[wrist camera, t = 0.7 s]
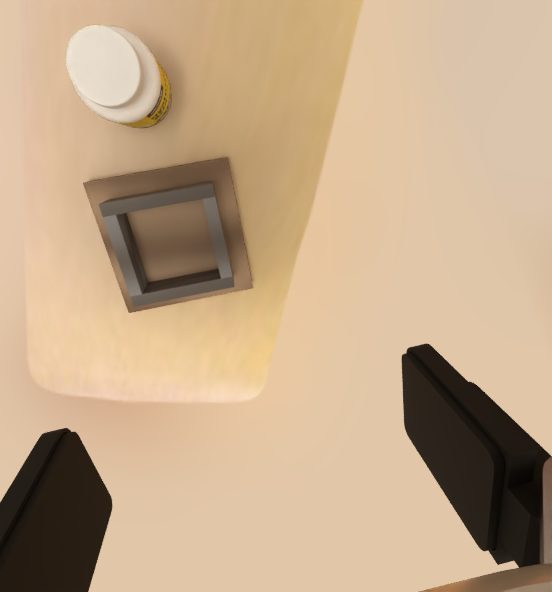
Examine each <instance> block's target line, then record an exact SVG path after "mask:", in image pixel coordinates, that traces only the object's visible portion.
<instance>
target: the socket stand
mask: <svg viewBox="0 0 552 592" xmlns="http://www.w3.org/2000/svg"><path fill="white" fill-rule="evenodd" d="M83 184H84V187H85V190H86V193H87V196H88V199H89V201H90V204H91V207H92V210H93V213H94V216H95V218H96V221H97V224H98V227H99V230H100V233H101V235H102V238H103V241H104V244H105V247H106V250H107V252H108V255H109V258H110V261H111V264H112V267H113V269H114V272H115V275H116V278H117V281H118V284H119V286H120V289H121V292H122V295H123V298H124V300H125V303H126V306H127V309H128V312H129V313H131V312H136V311H141V310H146V309H151V308H156V307H161V306H166V305H171V304H176V303H181V302H186V301H191V300H196V299H201V298H206V297H211V296H216V295H221V294H226V293H231V292H236V291H241V290H246V289H251V288H253V285H252V280H251V275H250V270H249V265H248V260H247V255H246V249H245V244H244V239H243V234H242V229H241V224H240V219H239V214H238V209H237V204H236V199H235V194H234V189H233V184H232V179H231V174H230V169H229V163H228V158H227V157H226V158H220V159H215V160H209V161H203V162H197V163H192V164H186V165H180V166H175V167H169V168H163V169H157V170H152V171H146V172H140V173H134V174H129V175H123V176H117V177H112V178H106V179H100V180H94V181H89V182H85V183H83Z"/></svg>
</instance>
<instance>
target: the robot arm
mask: <svg viewBox="0 0 552 592" xmlns="http://www.w3.org/2000/svg"><path fill="white" fill-rule="evenodd" d="M402 378H403V404H404V425H405V429H406V432H407V435H408V436H409V438H410V440H411V441H412V443H413V445H414V446H415V448H416V449H417V451H418V452H419V454H420V455H421V457H422V459H423V460H424V462H425V463H426V465H427V467H428V468H429V470H430V471H431V473H432V474H433V476H434V478H435V479H436V481H437V482H438V484H439V485H440V487H441V489H442V490H443V492H444V493H445V495H446V496H447V498H448V500H449V501H450V503H451V504H452V506H453V507H454V509H455V510H456V512H457V514H458V515H459V517H460V518H461V520H462V522H463V523H464V525H465V526H466V528H467V529H468V531H469V532H470V534H471V536H472V537H473V539H474V540H475V542H476V543H477V545H478V546H479V548H480V549H481V550H483V551H487V550H488V551H489V552H490V554H491V555H492V556H493V558H494V560H495V561H496V563H497V564H498V565H499V564H502V563H506V562H510V561H515V562H516V564H517V565H518V567H519V568H516V569H510V570H505V571H500V572H496V573H492V574H488V575H484V576H480V577H476V578H471V579H468V580H463V581H459V582H456V583H451V584H447V585H444V586H439V587H435V588H431V589H427V590H424V591H420V592H552V456H551V455H549V453H547V452H546V451H545V450H544V449H543V448H542V447H541V446H540V445H539V444H538V443H537V442H536V441H535V440H534V439H533V438H532V437H530V435H529V434H528V433H526V432H525V431H524V430H523V429H522V428H521V427H520V426H519V425H518V424H517V423H516V422H515V421H514V420H513V419H512V418H511V417H510V416H509V415H508V414H507V413H506V412H504V411H503V410H502V409H501V408H500V407H499V406H498V405H497V404H496V403H495V402H494V401H493V400H492V399H491V398H490V397H489V396H488V395H487V394H485V392H483V391H482V390H481V389H480V388H479V387H478V386H477V385H476V384H474V383H472V382H468V381H467V380H466V379H465V378H464V377H463V376H461V375H460V374H459V372H457V371H456V370H455V369H454V368H453V367H452V366H451V365H450V364H449V363H448V362H447V361H446V360H445V359H444V358H443V357H442V356H441V355H440V354H439V353H438V352H437V351H436V350H435V349H434V348H433V347H432V346H431V345H429V344H423V345H419V346H414V347H410V348H408V349H407V354H403V355H402ZM111 511H112V499H111V496H110V494H109V492H108V490H107V488H106V486H105V484H104V483H103V481H102V479H101V477H100V475H99V473H98V471H97V470H96V468H95V466H94V464H93V462H92V460H91V458H90V456H89V454H88V453H87V451H86V449H85V447H84V445H83V443H82V441H81V439H80V437H79V435H78V434H77V433H76V432H71V431H70V430H69V429H68V428H64V429H59V430H55V431H51V432H47V433H44V434H42V435H41V437H40V438H39V440H38V441H37V443H36V444H35V446H34V448H33V449H32V451H31V453H30V454H29V456H28V458H27V459H26V461H25V463H24V464H23V466H22V468H21V469H20V471H19V473H18V474H17V476H16V478H15V479H14V481H13V483H12V484H11V486H10V487H9V489H8V491H7V493H6V494H5V496H4V497H3V499H2V501H1V502H0V592H88V591H89V587H90V584H91V580H92V577H93V573H94V570H95V566H96V563H97V560H98V556H99V553H100V549H101V546H102V542H103V539H104V535H105V532H106V529H107V525H108V521H109V518H110V515H111Z"/></svg>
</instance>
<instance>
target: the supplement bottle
mask: <svg viewBox="0 0 552 592" xmlns="http://www.w3.org/2000/svg"><path fill="white" fill-rule="evenodd" d="M66 66H67V70H68V73H69V76H70V78H71V80H72V82H73V84H74V87H75V89H76V91H77V93H78V95H79V96H80V98H81V99H82V101H83V102H84V103H85V104H86V105H87V106H88V107H89V108H90V109H91V110H92V111H93V112H95V113H96V114H98V115H99V116H101V117H103V118H105V119H107V120H110V121H113V122H116V123H120V124H123V125H127V126H131V127H135V128H146V127H151V126H153V125H155V124H157V123H159V122H160V121H161V120H162V119H163V118H164V117H165V115H166V114H167V112H168V109H169V107H170V102H171V89H170V84H169V81H168V78H167V76H166V74H165V72H164V71H163V69H162V67H161V66H160V64H159V63H158V61H157V60H156V58H155V57H154V55H153V54H152V52H151V51H150V50H149V48H148V47H147V46H146V45H145V44H144V43H143V41H141V40H140V39H139V38H138V37H137V36H136V35H134V34H133V33H131V32H129V31H127V30H125V29H123V28H120V27H116V26H102V25H90V26H86V27H84V28H82V29H80V30H79V31H77V32H76V33H75V34H74V35H73V36H72V38H71V39H70V41H69V43H68V46H67V50H66Z"/></svg>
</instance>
